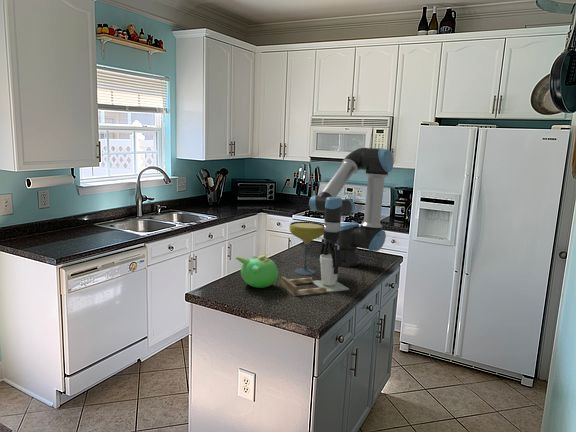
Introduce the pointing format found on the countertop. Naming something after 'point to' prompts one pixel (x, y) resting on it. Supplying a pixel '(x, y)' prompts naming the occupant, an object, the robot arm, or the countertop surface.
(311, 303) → the countertop surface
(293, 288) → the wooden u-shaped frame
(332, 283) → the foam cup
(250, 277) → the toy bird
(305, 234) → the cocktail glass
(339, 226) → the robot arm
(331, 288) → the pad
